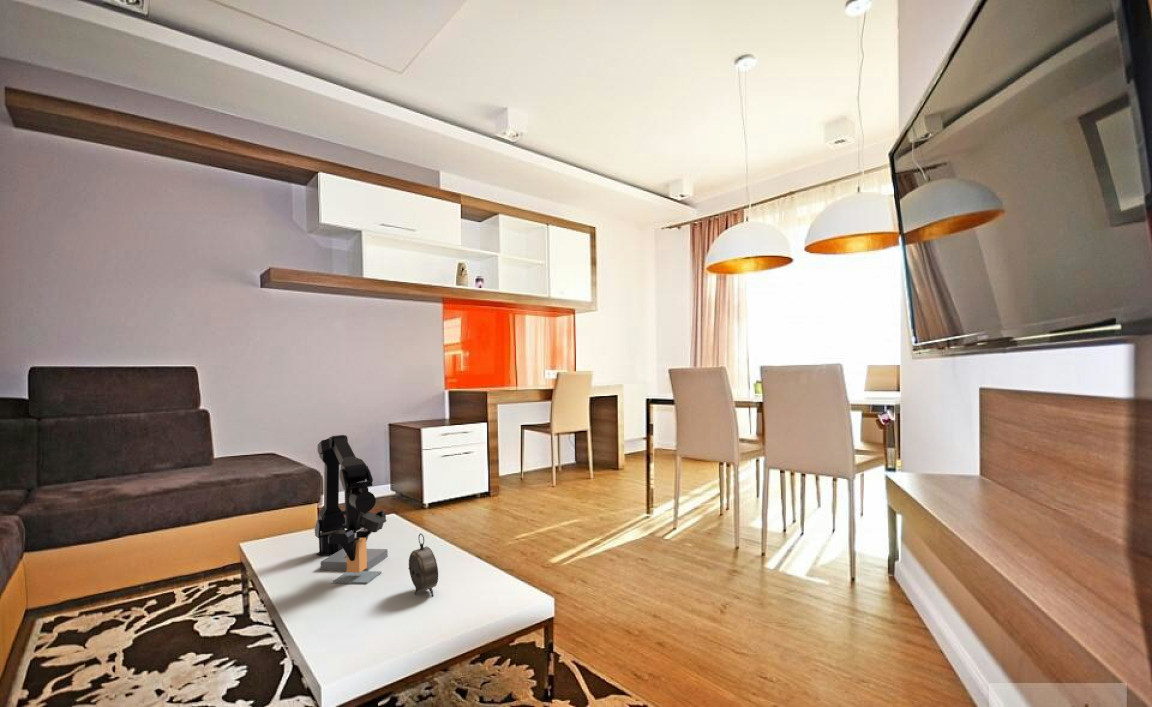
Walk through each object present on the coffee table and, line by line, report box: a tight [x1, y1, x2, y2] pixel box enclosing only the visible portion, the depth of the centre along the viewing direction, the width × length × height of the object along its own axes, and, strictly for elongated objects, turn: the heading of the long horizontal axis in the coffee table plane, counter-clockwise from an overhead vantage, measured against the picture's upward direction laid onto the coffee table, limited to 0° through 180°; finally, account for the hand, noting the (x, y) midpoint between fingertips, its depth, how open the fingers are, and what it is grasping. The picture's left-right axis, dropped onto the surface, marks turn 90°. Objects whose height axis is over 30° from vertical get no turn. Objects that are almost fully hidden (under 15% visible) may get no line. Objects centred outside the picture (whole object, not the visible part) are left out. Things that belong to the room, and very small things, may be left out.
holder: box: [320, 548, 389, 571], centre depth 169 cm, size 16×12×2 cm
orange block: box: [346, 537, 368, 573], centre depth 156 cm, size 4×4×9 cm
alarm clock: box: [408, 533, 439, 597], centre depth 144 cm, size 11×5×16 cm, turn 38°
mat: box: [332, 570, 382, 585], centre depth 156 cm, size 11×8×1 cm
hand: (356, 558), depth 156 cm, fingers closed on orange block, 4 cm apart
